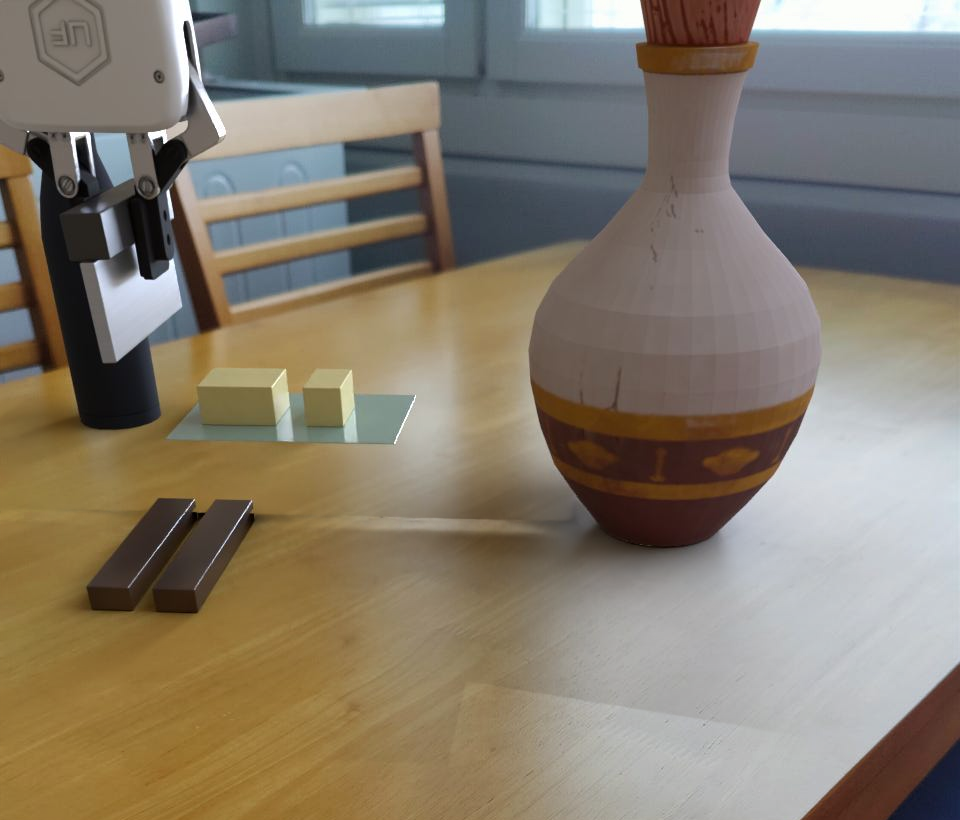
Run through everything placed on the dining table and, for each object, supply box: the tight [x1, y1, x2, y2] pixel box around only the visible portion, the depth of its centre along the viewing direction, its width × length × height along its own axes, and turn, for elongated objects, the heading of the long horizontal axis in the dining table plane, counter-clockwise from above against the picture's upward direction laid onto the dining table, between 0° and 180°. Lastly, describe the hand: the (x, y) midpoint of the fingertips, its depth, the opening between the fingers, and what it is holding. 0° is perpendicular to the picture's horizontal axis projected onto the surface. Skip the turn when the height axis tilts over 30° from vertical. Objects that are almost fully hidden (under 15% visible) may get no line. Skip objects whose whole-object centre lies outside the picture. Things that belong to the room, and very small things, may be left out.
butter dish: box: [164, 392, 417, 445], centre depth 98 cm, size 18×12×1 cm, turn 84°
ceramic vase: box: [527, 0, 822, 547], centre depth 73 cm, size 20×18×30 cm
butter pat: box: [302, 368, 355, 427], centre depth 96 cm, size 3×5×3 cm, turn 174°
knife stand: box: [86, 497, 256, 613], centre depth 77 cm, size 7×14×2 cm, turn 174°
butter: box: [196, 367, 290, 426], centre depth 97 cm, size 6×5×3 cm
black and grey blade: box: [60, 177, 183, 363], centre depth 68 cm, size 12×2×7 cm, turn 174°
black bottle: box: [39, 132, 162, 431], centre depth 89 cm, size 6×6×30 cm
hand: (130, 270), depth 68 cm, fingers closed on black and grey blade, 2 cm apart
